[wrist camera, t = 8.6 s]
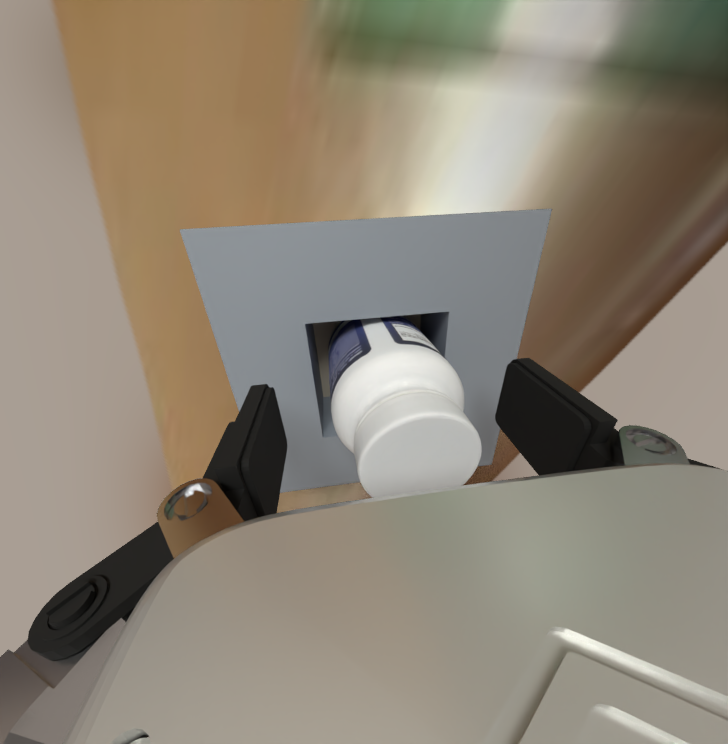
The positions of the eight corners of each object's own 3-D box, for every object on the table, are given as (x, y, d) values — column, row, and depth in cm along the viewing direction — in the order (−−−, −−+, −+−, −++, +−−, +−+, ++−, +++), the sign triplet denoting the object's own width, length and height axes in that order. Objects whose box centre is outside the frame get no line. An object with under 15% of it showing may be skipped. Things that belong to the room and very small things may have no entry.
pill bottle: (342, 392, 18) (358, 538, 10) (315, 316, 16) (305, 425, 7) (420, 369, 18) (505, 496, 10) (406, 290, 16) (505, 368, 7)
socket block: (224, 227, 14) (179, 229, 10) (487, 213, 15) (552, 208, 11) (278, 437, 21) (266, 494, 16) (458, 416, 22) (491, 464, 18)
